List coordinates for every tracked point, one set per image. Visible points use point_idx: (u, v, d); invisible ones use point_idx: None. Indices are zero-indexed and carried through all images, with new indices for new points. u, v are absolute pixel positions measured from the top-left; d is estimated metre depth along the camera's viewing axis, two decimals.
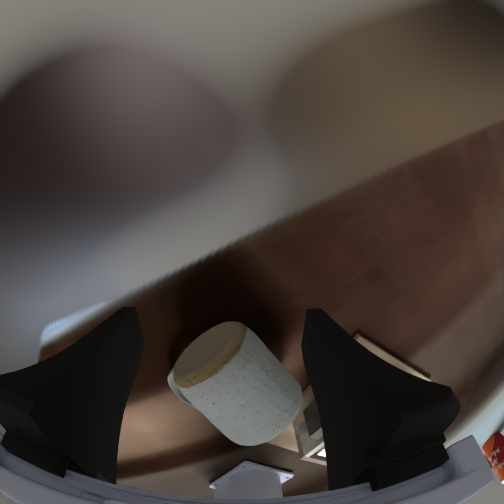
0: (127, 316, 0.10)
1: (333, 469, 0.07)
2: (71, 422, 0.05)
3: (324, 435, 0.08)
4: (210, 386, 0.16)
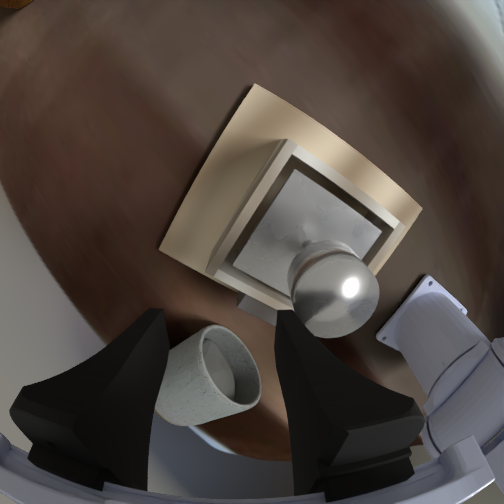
0: (156, 318, 0.10)
1: (297, 475, 0.07)
2: (110, 432, 0.05)
3: (291, 439, 0.08)
4: (168, 419, 0.20)
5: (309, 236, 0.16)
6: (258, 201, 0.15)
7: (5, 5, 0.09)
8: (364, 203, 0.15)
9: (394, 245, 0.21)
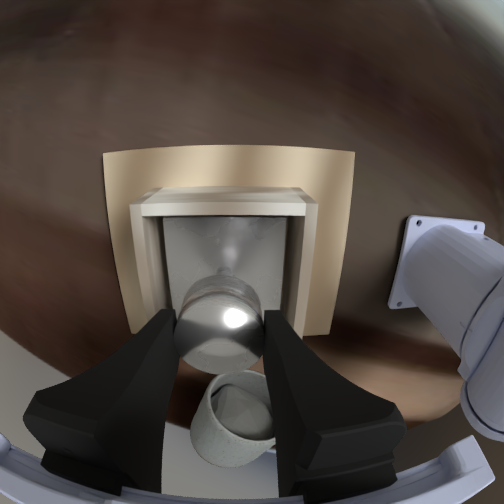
0: (169, 318, 0.10)
1: (280, 476, 0.07)
2: (128, 436, 0.05)
3: (276, 440, 0.08)
4: (223, 466, 0.20)
5: (216, 264, 0.16)
6: (146, 274, 0.14)
7: None
8: (247, 213, 0.13)
9: (345, 211, 0.18)
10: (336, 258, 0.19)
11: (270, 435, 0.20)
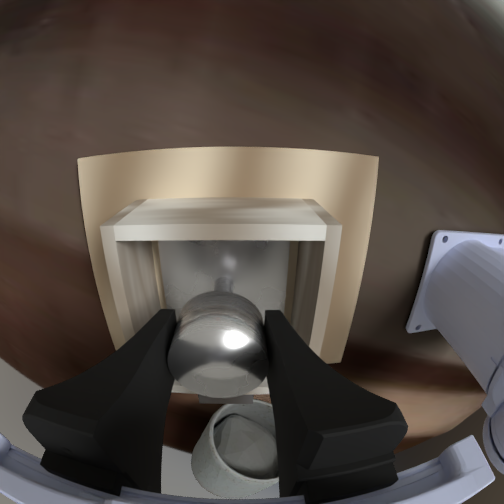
0: (169, 318, 0.10)
1: (281, 476, 0.07)
2: (128, 435, 0.05)
3: (277, 441, 0.08)
4: (227, 497, 0.17)
5: (215, 275, 0.15)
6: (126, 310, 0.11)
7: None
8: (250, 237, 0.10)
9: (366, 227, 0.15)
10: (353, 281, 0.16)
11: None
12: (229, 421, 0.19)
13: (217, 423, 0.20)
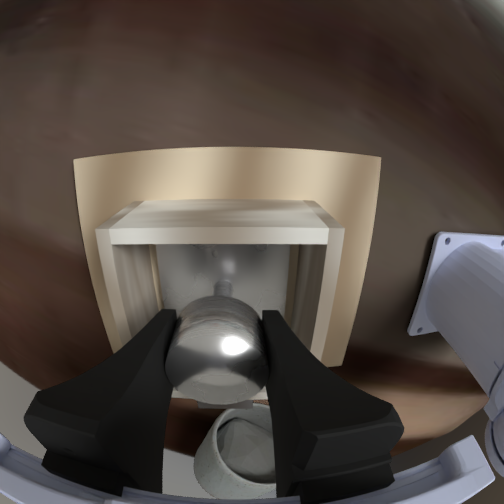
0: (170, 318, 0.10)
1: (278, 476, 0.07)
2: (129, 436, 0.05)
3: (274, 441, 0.08)
4: None
5: (213, 279, 0.14)
6: (123, 315, 0.11)
7: None
8: (249, 241, 0.10)
9: (368, 229, 0.14)
10: (354, 284, 0.16)
11: None
12: (232, 425, 0.19)
13: (220, 427, 0.20)
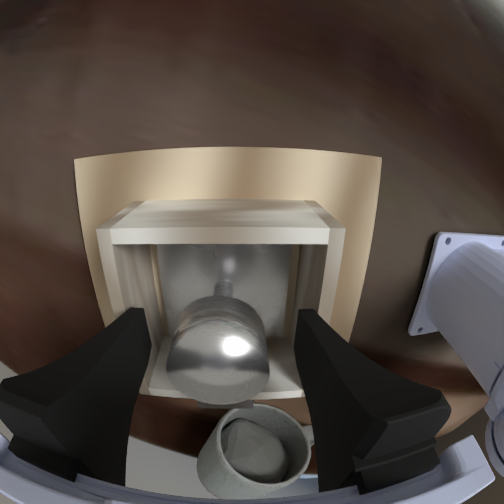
0: (136, 317, 0.10)
1: (323, 471, 0.07)
2: (82, 425, 0.05)
3: (315, 437, 0.08)
4: None
5: (214, 279, 0.14)
6: None
7: None
8: (250, 241, 0.10)
9: (369, 229, 0.14)
10: (355, 284, 0.16)
11: (284, 472, 0.17)
12: (235, 426, 0.19)
13: (223, 427, 0.20)
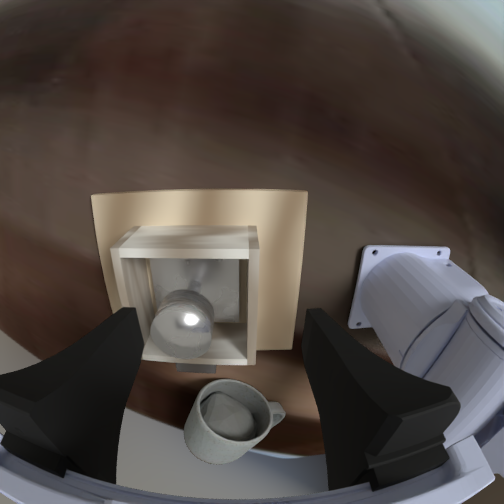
0: (127, 316, 0.10)
1: (333, 469, 0.07)
2: (71, 422, 0.05)
3: (325, 435, 0.08)
4: (211, 462, 0.23)
5: (188, 279, 0.21)
6: (126, 301, 0.17)
7: None
8: (200, 257, 0.16)
9: (300, 245, 0.21)
10: (293, 285, 0.22)
11: (252, 437, 0.23)
12: (214, 396, 0.25)
13: (205, 399, 0.26)
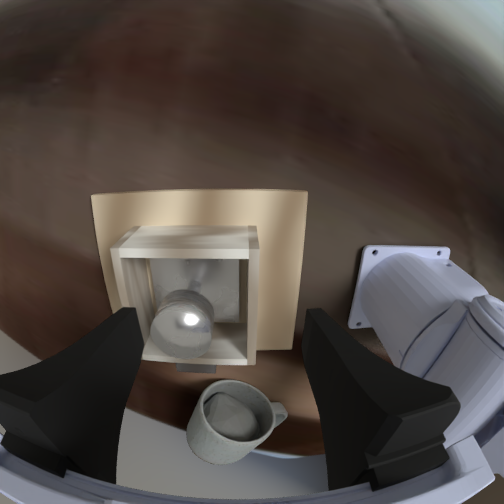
0: (127, 316, 0.10)
1: (333, 469, 0.07)
2: (71, 422, 0.05)
3: (325, 435, 0.08)
4: (214, 463, 0.23)
5: (188, 279, 0.21)
6: (126, 301, 0.17)
7: None
8: (200, 257, 0.16)
9: (300, 245, 0.21)
10: (293, 285, 0.22)
11: (254, 437, 0.23)
12: (217, 397, 0.26)
13: (208, 399, 0.26)
